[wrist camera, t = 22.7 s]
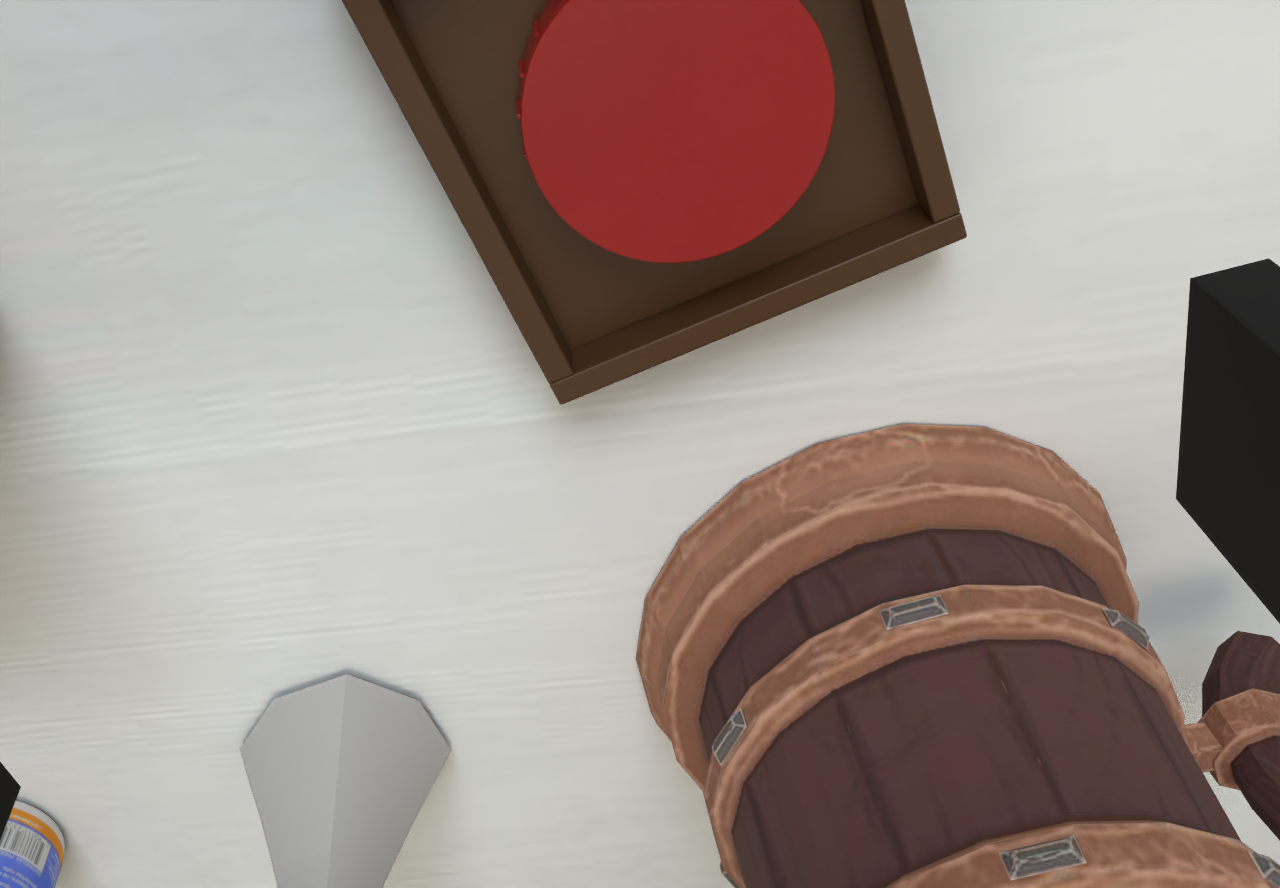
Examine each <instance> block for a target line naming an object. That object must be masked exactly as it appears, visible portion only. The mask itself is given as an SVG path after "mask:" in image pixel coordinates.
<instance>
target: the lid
mask: <svg viewBox="0 0 1280 888" xmlns="http://www.w3.org/2000/svg"><path fill="white" fill-rule="evenodd" d="M532 24H533V30H532V33H531V35H530V37H529V40H528V42H527V46H526V49H525V53H524V56H523V60H519V71H520V78H519V100H518V101H516V112H517V119H520V121H521V130H522V138H523V150H524V157H525V159H527V160H528V164H529V166H530V169H531V171H532V173H533V176H534V178H535V181H536V183H537V184H538V186H539V188H540V190H541V192H542V194H543V195H544V197H545V198H546V200H547V201H548V202H549V203H550V205H551V206H552V207H553V209H554V210H555V211H556V213H557V214H558V215H559V216H560V217H561V218H562V219H563V220H564V221H565V222H566V223H567V224H568V225H569V226H570V227H571V228H573V229H574V230H575V231H577V232H578V233H579V234H581V235H582V236H583V237H585V238H586V239H588V240H589V241H591V242H593V243H595V244H596V245H598V246H600V247H602V248H604V249H606V250H609V251H611V252H614V253H616V254H619V255H622V256H625V257H629V258H633V259H636V260H642V261H649V262H656V263H681V262H690V261H697V260H702V259H706V258H710V257H715V256H717V255H720V254H723V253H726V252H729V251H731V250H734V249H736V248H738V247H740V246H742V245H744V244H746V243H748V242H750V241H751V240H753V239H755V238H756V237H758V236H759V235H761V234H762V233H764V232H765V231H767V230H768V229H769V228H770V227H772V226H773V225H774V224H775V223H776V222H778V221H779V220H780V219H781V218H782V217H783V216H784V215H785V214H786V213H787V212H788V211H789V210H790V209H791V208H792V207H793V206H794V205H795V204H796V202H797V201H798V200H799V198H800V197H801V196H802V194H803V193H804V192H805V190H806V189H807V188H808V186H809V184H810V182H811V181H812V179H813V177H814V176H815V174H816V172H817V170H818V168H819V166H820V164H821V161H822V159H823V157H824V154H825V152H826V149H827V145H828V142H829V138H830V135H831V131H832V125H833V118H834V111H835V86H834V76H833V70H832V65H831V61H830V57H829V53H828V50H827V47H826V45H825V42H824V40H823V37H822V34H821V32H820V30H819V29H820V27H819V25H818V24H817V23H816V22H815V21H814V20H813V18H812V16H811V15H810V13H809V12H808V11H807V9H806V8H805V7H804V5H803V4H802V3H801V1H800V0H550V1H549V2H548V3H547V5H546V7H545V8H544V10H543V12H542V13H541V15H540V17H539V18H538V20H537V21H536V20H534V21H533V23H532Z"/></svg>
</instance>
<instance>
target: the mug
mask: <svg viewBox="0 0 1280 888" xmlns="http://www.w3.org/2000/svg"><path fill="white" fill-rule="evenodd" d="M1138 607H1139V602H1138V599H1137V597H1136V594H1135V592H1134V590H1133V587H1132V585H1131V582H1130V580H1129V578H1128V575H1127V573H1126V557H1125V554H1124V552H1123V549H1122V546H1121V544H1120V541H1119V539H1118V536H1117V534H1116V532H1115V529H1114V527H1113V524H1112V522H1111V519H1110V517H1109V515H1108V512H1107V510H1106V507H1105V505H1104V502H1103V500H1102V498H1101V495H1100V494H1099V493H1098V492H1097V491H1096V490H1095V489H1094V488H1093V487H1092V486H1091V485H1089V484H1088V483H1087V482H1086V481H1085V480H1084V479H1083V478H1082V477H1081V476H1079V475H1078V474H1077V473H1076V472H1075V471H1074V470H1073V469H1072V468H1071V467H1069V466H1068V465H1067V464H1066V463H1065V462H1064V461H1063V460H1062V459H1061V458H1059V457H1058V456H1057V455H1056V454H1055V453H1054V452H1052V451H1049V450H1047V449H1044V448H1041V447H1038V446H1036V445H1033V444H1030V443H1027V442H1025V441H1022V440H1019V439H1016V438H1014V437H1011V436H1008V435H1005V434H1003V433H1000V432H997V431H994V430H992V429H989V428H986V427H971V426H945V425H919V424H900V425H896V426H891V427H887V428H883V429H878V430H874V431H870V432H865V433H861V434H857V435H852V436H848V437H844V438H839V439H835V440H831V441H826V442H822V443H818V444H815V445H813V446H812V447H810V448H808V449H806V450H804V451H802V452H800V453H798V454H796V455H794V456H792V457H790V458H788V459H786V460H784V461H782V462H780V463H779V464H777V465H775V466H773V467H771V468H769V469H767V470H765V471H763V472H761V473H759V474H757V475H755V476H753V477H751V478H749V479H748V480H746V481H744V482H742V483H740V484H739V485H738V486H737V487H735V488H734V489H733V490H732V491H731V492H730V493H729V494H728V495H727V496H726V497H724V498H723V499H722V500H721V501H720V502H719V503H718V504H717V505H716V506H715V507H714V508H712V509H711V510H710V511H709V512H708V513H707V514H706V515H705V516H704V517H703V518H701V519H700V520H699V521H698V522H697V523H696V524H695V525H694V526H693V527H692V528H690V529H689V530H688V531H687V532H686V533H685V534H684V535H683V536H682V537H681V538H680V539H679V541H678V543H677V545H676V546H675V548H674V550H673V551H672V553H671V555H670V557H669V558H668V560H667V562H666V563H665V565H664V567H663V569H662V570H661V572H660V574H659V576H658V577H657V579H656V581H655V582H654V584H653V586H652V588H651V589H650V591H649V593H648V594H647V596H646V598H645V603H644V610H643V616H642V622H641V629H640V635H639V641H638V648H637V654H636V660H637V664H638V667H639V671H640V675H641V678H642V682H643V685H644V689H645V693H646V696H647V700H648V703H649V707H650V711H651V713H652V715H653V717H654V719H655V721H656V723H657V724H658V726H659V727H660V728H661V729H662V730H663V732H664V733H665V734H666V735H667V736H668V737H669V739H670V740H671V741H672V744H673V748H674V751H675V755H676V759H677V761H678V762H679V764H680V765H681V766H682V767H683V768H684V769H685V771H686V772H687V773H688V774H689V775H690V776H691V778H692V779H693V780H694V781H695V782H696V784H697V785H698V786H699V787H700V788H701V789H702V791H703V794H704V798H705V802H706V805H707V809H708V813H709V817H710V821H711V825H712V829H713V833H714V837H715V841H716V844H717V848H718V851H719V855H720V859H721V863H720V869H721V873H722V874H723V875H724V876H725V878H726V879H727V880H728V881H729V882H730V883H731V884H732V885H733V886H734V887H735V888H1280V865H1279V864H1277V863H1276V862H1275V861H1273V860H1272V859H1271V858H1269V857H1268V856H1264V855H1260V854H1258V853H1256V852H1255V851H1253V850H1252V849H1251V848H1249V847H1248V846H1247V845H1245V844H1244V843H1242V842H1241V840H1240V838H1239V836H1238V835H1237V833H1236V831H1235V829H1234V828H1233V826H1232V824H1231V822H1230V820H1229V819H1228V817H1227V815H1226V813H1225V812H1224V810H1223V808H1222V806H1221V805H1220V803H1219V801H1218V799H1217V797H1216V796H1215V794H1214V792H1213V790H1212V789H1211V787H1210V785H1209V783H1208V781H1207V780H1206V778H1205V776H1204V774H1203V773H1202V772H1210V773H1211V775H1212V776H1213V778H1214V779H1215V780H1216V782H1217V783H1218V784H1219V785H1220V786H1225V787H1229V788H1233V789H1238V790H1241V792H1242V793H1243V795H1244V797H1245V798H1246V800H1247V802H1248V803H1249V805H1250V806H1251V808H1252V809H1253V810H1254V811H1255V813H1256V814H1257V815H1258V816H1259V817H1260V818H1261V819H1262V821H1263V822H1264V823H1265V824H1266V825H1267V826H1268V827H1269V829H1270V830H1271V831H1272V832H1273V833H1274V834H1275V835H1276V837H1277V838H1278V839H1279V840H1280V644H1279V643H1278V642H1276V641H1275V640H1274V639H1273V638H1272V637H1269V636H1264V635H1258V634H1252V633H1246V632H1240V631H1237V632H1236V633H1234V634H1233V635H1232V636H1231V637H1230V638H1228V639H1227V640H1226V641H1225V642H1224V643H1222V644H1221V645H1220V646H1219V647H1218V648H1217V650H1216V653H1215V655H1214V658H1213V660H1212V662H1211V665H1210V667H1209V669H1208V672H1207V674H1206V677H1205V679H1204V681H1203V684H1202V718H1201V719H1200V720H1199V722H1198V723H1196V724H1187V725H1184V718H1185V715H1184V713H1183V710H1182V708H1181V705H1180V703H1179V701H1178V698H1177V696H1176V694H1175V691H1174V689H1173V686H1172V684H1171V682H1170V679H1169V677H1168V674H1167V672H1166V670H1165V668H1164V666H1163V665H1162V663H1161V661H1160V659H1159V658H1158V656H1157V654H1156V653H1155V651H1154V649H1153V647H1152V646H1151V644H1150V642H1149V641H1148V639H1149V636H1148V634H1147V633H1146V631H1145V629H1144V628H1142V627H1141V626H1139V625H1138V624H1137V622H1138Z"/></svg>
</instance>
